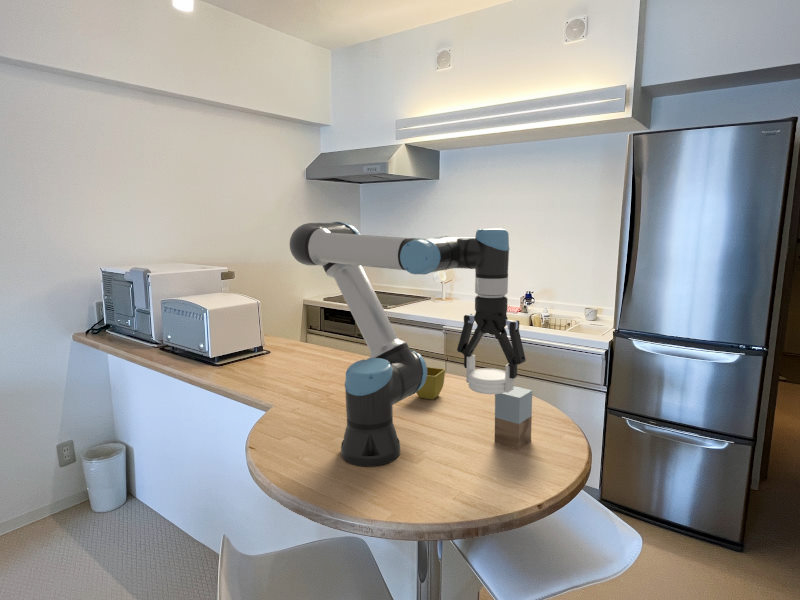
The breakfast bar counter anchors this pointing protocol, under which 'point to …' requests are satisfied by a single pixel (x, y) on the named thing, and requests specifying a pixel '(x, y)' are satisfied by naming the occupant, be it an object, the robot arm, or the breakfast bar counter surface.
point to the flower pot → (432, 383)
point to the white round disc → (487, 381)
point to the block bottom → (513, 433)
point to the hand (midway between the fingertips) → (489, 385)
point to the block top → (514, 405)
